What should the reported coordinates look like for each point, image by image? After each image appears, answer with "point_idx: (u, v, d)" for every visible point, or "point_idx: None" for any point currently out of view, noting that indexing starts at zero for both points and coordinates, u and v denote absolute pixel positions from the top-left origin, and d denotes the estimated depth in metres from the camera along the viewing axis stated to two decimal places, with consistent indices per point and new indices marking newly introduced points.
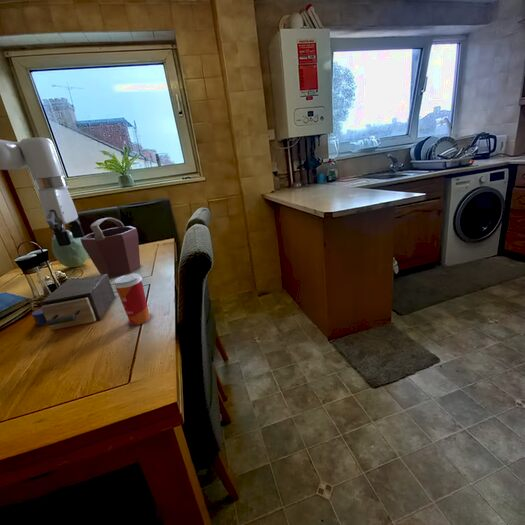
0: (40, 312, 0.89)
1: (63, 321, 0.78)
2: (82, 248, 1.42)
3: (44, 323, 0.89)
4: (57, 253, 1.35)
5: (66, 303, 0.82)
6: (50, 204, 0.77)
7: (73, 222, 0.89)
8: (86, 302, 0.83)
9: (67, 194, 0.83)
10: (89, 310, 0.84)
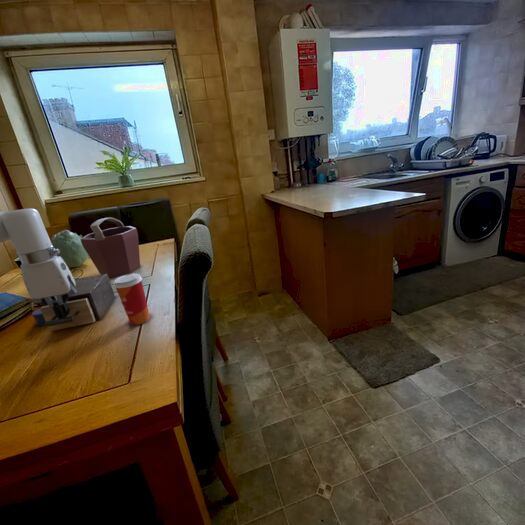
0: (40, 312, 0.89)
1: (62, 322, 0.78)
2: (82, 248, 1.42)
3: (44, 323, 0.89)
4: None
5: None
6: None
7: None
8: (85, 303, 0.82)
9: (45, 269, 0.73)
10: (88, 311, 0.83)
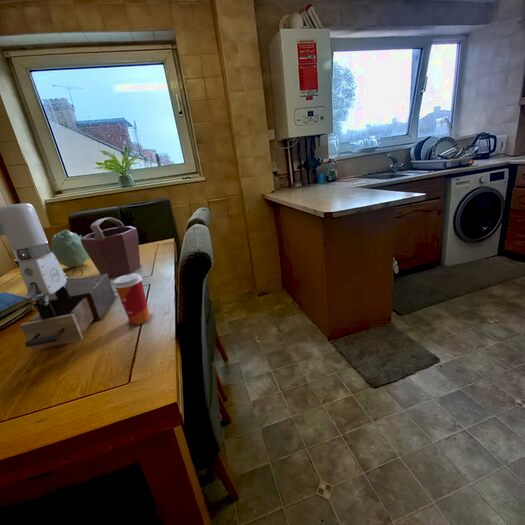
0: None
1: (44, 342, 0.69)
2: (82, 248, 1.42)
3: None
4: (57, 253, 1.35)
5: (49, 320, 0.72)
6: None
7: None
8: (72, 319, 0.73)
9: None
10: (75, 328, 0.74)
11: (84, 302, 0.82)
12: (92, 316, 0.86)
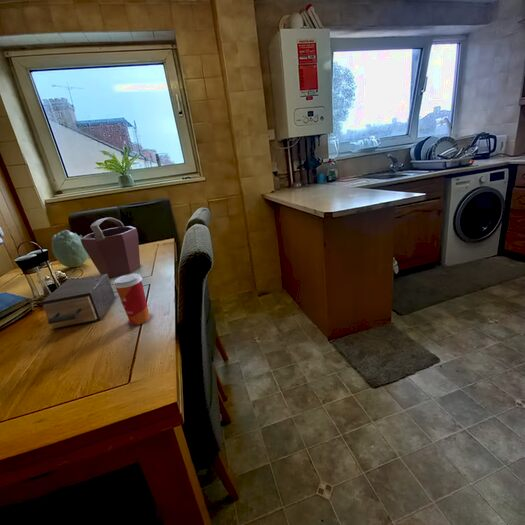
0: None
1: (65, 319, 0.79)
2: (82, 248, 1.42)
3: None
4: (57, 253, 1.35)
5: (68, 301, 0.83)
6: None
7: None
8: (87, 301, 0.84)
9: None
10: (90, 308, 0.85)
11: None
12: None
